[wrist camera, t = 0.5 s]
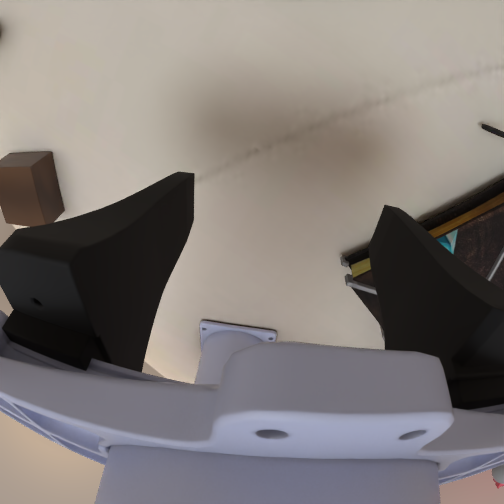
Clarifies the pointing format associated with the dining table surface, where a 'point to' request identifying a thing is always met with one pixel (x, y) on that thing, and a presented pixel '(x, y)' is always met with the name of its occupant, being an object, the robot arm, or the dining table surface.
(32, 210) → the riser
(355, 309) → the dining table surface
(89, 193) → the dining table surface
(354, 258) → the book
